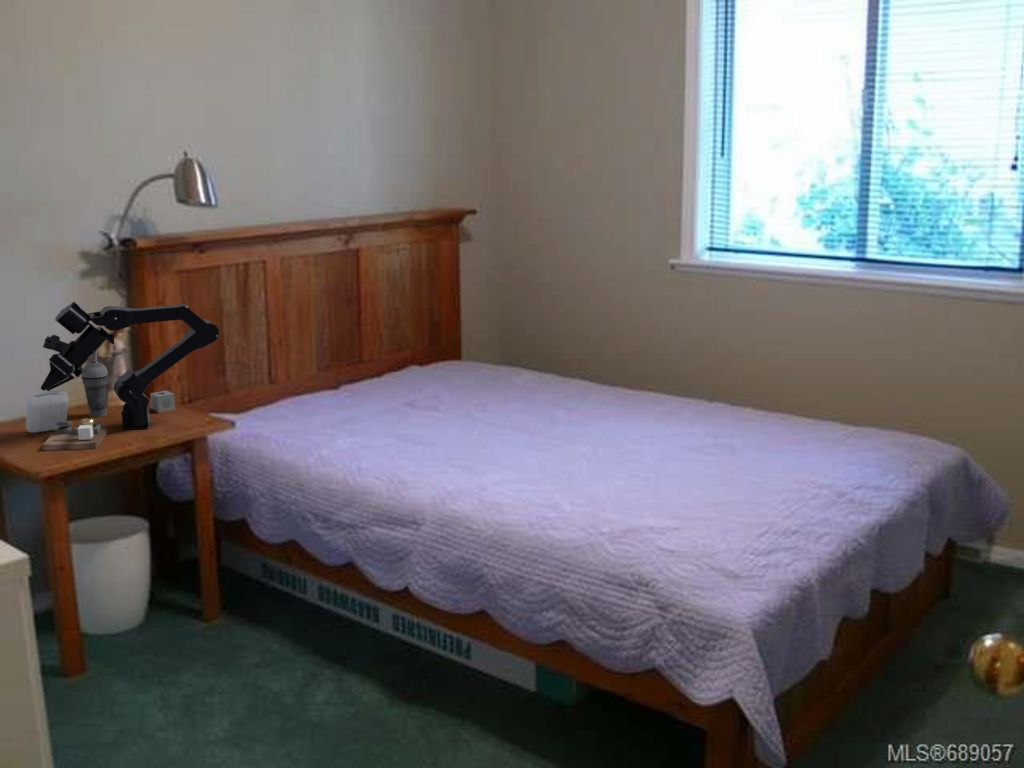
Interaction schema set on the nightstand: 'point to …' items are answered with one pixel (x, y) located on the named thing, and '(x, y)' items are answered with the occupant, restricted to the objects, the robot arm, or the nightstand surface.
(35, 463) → the nightstand surface
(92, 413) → the beverage cup
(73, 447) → the control panel
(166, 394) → the dice cube
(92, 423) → the brass button
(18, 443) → the nightstand surface
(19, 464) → the nightstand surface
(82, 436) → the slider knob
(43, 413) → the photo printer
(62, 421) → the rocker switch
